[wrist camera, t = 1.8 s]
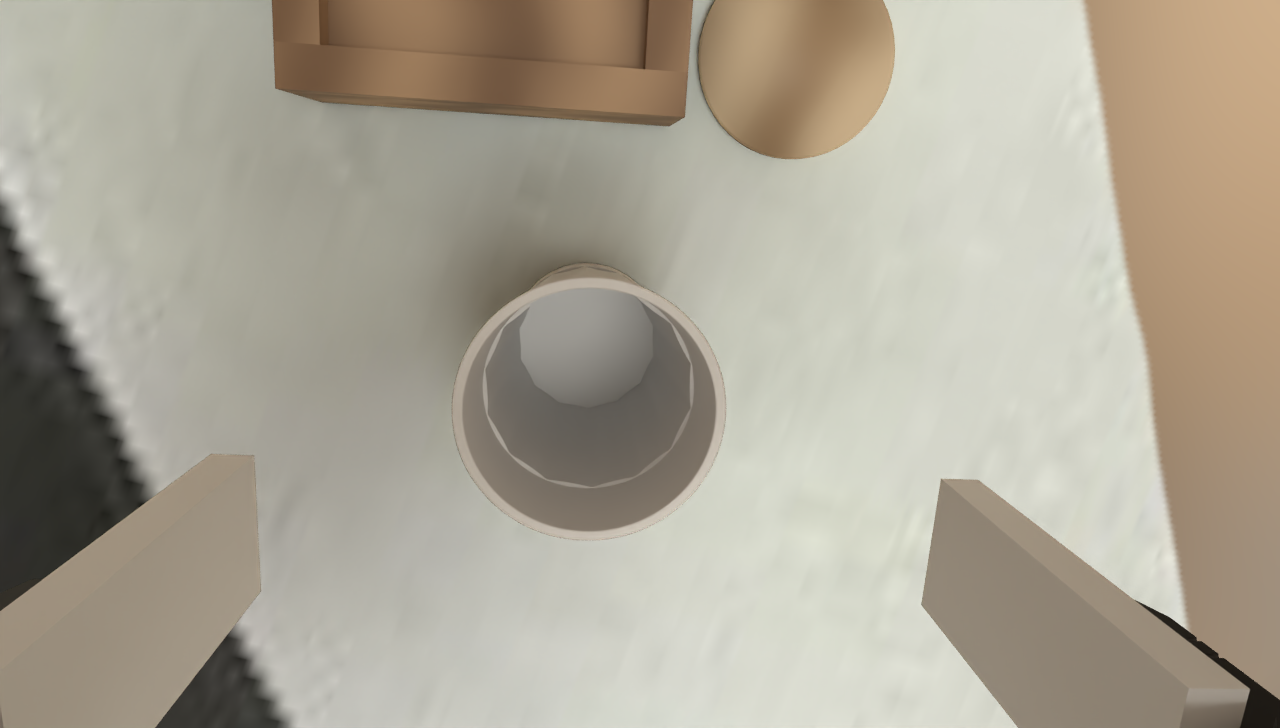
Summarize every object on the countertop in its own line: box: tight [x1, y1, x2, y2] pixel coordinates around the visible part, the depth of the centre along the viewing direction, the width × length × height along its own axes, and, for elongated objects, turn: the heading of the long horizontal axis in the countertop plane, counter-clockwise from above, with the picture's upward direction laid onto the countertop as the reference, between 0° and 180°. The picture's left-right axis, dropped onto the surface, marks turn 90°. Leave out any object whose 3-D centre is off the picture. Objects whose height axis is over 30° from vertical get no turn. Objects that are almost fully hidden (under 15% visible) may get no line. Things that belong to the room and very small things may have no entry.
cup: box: [452, 263, 726, 540], centre depth 29 cm, size 8×8×12 cm
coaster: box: [698, 0, 895, 159], centre depth 33 cm, size 8×8×1 cm
